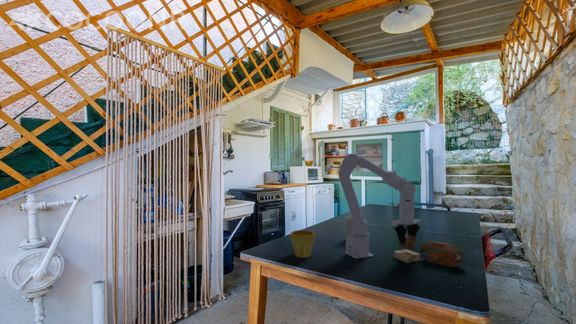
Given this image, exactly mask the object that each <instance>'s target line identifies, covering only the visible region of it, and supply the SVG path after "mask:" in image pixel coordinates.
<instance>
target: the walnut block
mask: <svg viewBox="0 0 576 324" xmlns="http://www.w3.org/2000/svg"><path fill="white" fill-rule="evenodd" d="M416 244H417V237H415V236H412V235H409V234H408V233H406V235H405V244H402V243H400V242H398V248H401V249H403V250H404V249H406V250H409V251H412V250H416V249H417V245H416Z"/></svg>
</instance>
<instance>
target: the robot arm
mask: <svg viewBox="0 0 576 324" xmlns="http://www.w3.org/2000/svg"><path fill="white" fill-rule="evenodd" d="M357 167H358V168H359V169H367V170H368V171H370V172H372V173H374V174H375V175H377V176H379V177H380V178H381V179H382V182H383V183H384V184H385V185H388V186H389V187H390V188H392V189H394V190H397V191H398V192H399V204H398V206H399V207H398V209H399V211H398V213H399V218H398V219H396V220H392V221H391V225H390V226H391V227H393V229H394V230H395V232H396V235H397V237H398V241H399V242H400V243H402V244H405V235H406V234H409V235H412V236H415V237H416V236H417V234H418V232H419V230H420V229H421V225H422V219H419V218H415V193H416V190H417V189H416V186H415V184H414V183H412V182H410V181H408V180H407V178H406V177H404V178H403V177H402V176H400V175H398V174H397V172H396V171H392V170H387V171H385V170H384V169H382V168H381V167H379V166H378V165H376V164H375V163H373V162H372V161H370V160H368V159H366V158H364V157H362V156H358V154H356V153H348V154H346V155H345V157H344V158H343V160H342V161H341V165H340V169H339V173H338V179H339V182H340V185H341V187H342V191H343V193H344V197H345V199H346V202H347V206H348V209H349V212H350V215H351V217H352V220H353V230H354V231H353V232H352V234H351V235H349V236H347V238H346V239H345V252H344V253H345V255H348V256H350V257H351V258H353V259H355V260H357V259H363V258H370V257H371V258H372V257H374V255H375V254H372V253H370V232H369V222H368V220H367V219H366V218H365V217H364V214H363V212H362V209H361V207H360V206H361V205H360V203H359V199H358V198H357V194H356V192H355V188H354V186H353V182H352V180H351V175H352V173H353V171H354V170H355V169H356V168H357ZM405 226H406V227H405ZM416 238H417V237H416ZM399 242H398V243H399Z"/></svg>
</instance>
